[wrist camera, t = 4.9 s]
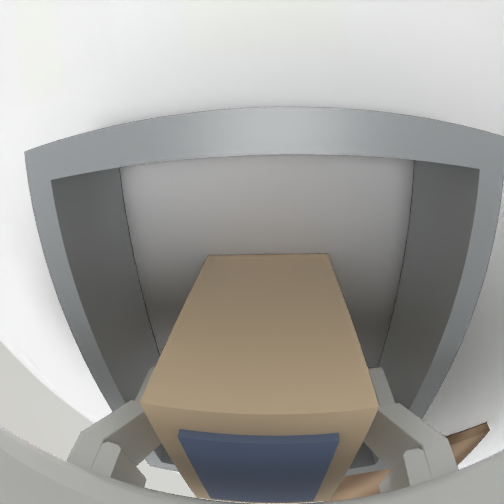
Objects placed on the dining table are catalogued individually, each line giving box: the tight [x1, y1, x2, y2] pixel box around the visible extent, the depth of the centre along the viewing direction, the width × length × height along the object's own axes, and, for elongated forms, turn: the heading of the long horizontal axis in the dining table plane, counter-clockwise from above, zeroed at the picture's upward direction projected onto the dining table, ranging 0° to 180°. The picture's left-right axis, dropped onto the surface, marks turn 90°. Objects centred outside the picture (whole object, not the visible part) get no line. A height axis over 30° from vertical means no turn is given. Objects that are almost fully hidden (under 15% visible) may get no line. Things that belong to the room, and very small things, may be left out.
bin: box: [24, 107, 504, 476], centre depth 10 cm, size 13×16×4 cm
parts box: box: [140, 254, 379, 503], centre depth 9 cm, size 4×6×7 cm
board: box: [324, 423, 490, 502], centre depth 19 cm, size 14×14×1 cm
